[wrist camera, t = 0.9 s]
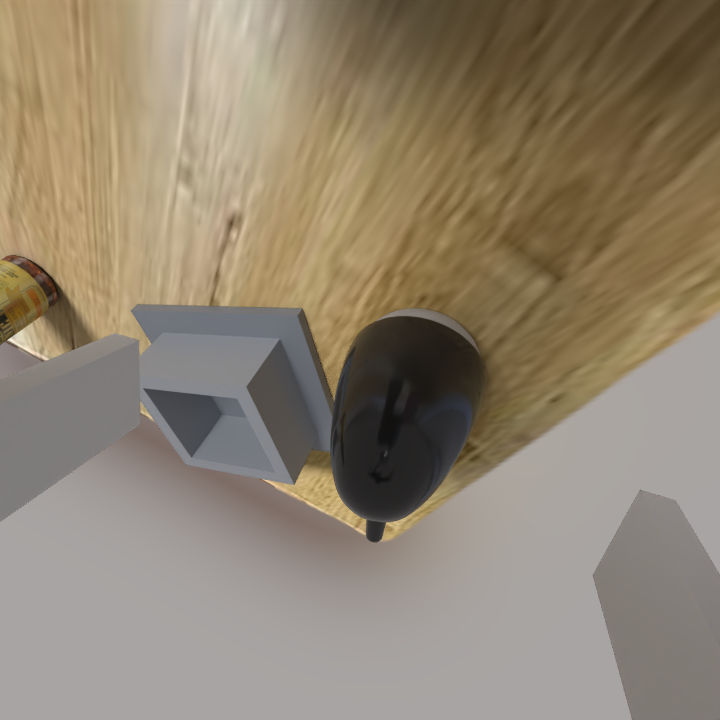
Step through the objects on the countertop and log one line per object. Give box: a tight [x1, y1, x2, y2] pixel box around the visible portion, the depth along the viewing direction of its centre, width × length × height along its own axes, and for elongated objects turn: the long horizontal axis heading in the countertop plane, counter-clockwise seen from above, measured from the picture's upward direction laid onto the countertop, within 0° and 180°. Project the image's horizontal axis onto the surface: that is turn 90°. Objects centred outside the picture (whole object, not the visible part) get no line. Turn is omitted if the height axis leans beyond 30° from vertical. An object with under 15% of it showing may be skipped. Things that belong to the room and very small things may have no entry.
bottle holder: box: [131, 304, 334, 485], centre depth 44 cm, size 18×18×7 cm
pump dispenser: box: [330, 308, 488, 542], centre depth 30 cm, size 10×10×15 cm
